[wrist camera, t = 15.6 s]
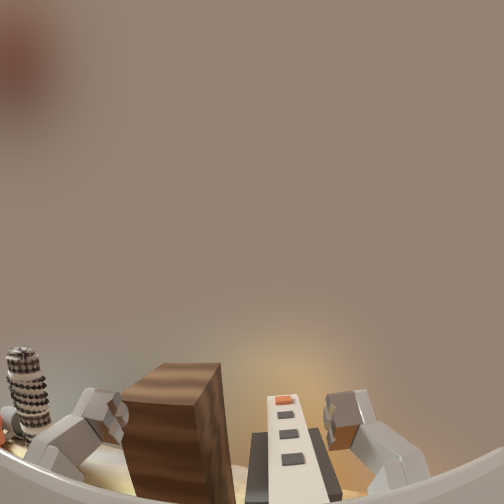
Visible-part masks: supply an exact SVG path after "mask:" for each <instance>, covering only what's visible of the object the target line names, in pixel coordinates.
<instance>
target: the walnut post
mask: <svg viewBox="0 0 504 504" xmlns="http://www.w3.org/2000/svg"><path fill="white" fill-rule="evenodd" d="M120 395H121V397H122V400H121V401H122V402H123V403H125V404H126V406H127V408H128V411H129V419H128V423H127V425H126V426H125V427H123V428H122V429H123V432H124V435H123V438H122V440H121V443H122V447H123V451H124V455H125V459H126V463H127V466H128V470H129V473H130V477H131V480H132V483H133V486H134V490H135V493H136V496H137V497H140V498H145V499H151V500H156V501H162V502H169V503H176V504H236V500H235V492H234V485H233V477H232V469H231V461H230V453H229V445H228V436H227V427H226V417H225V408H224V397H223V386H222V377H221V365H220V363H163V364H162V365H160V366H159V367H158V368H156V369H155V370H153V371H152V372H151V373H149V374H148V375H146V376H145V377H144V378H142V379H141V380H139V381H138V382H136V383H135V384H133V385H132V386H131V387H129V388H128V389H126V390H125V391H123V392H122V393H120Z"/></svg>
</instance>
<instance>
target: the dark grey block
mask: <svg viewBox="0 0 504 504" xmlns="http://www.w3.org/2000/svg"><path fill="white" fill-rule="evenodd" d="M308 432H309V435H310V439H311V442H312V445H313V448H314V452H315V455H316V458H317V462H318V465H319V468H320V472H321V475H322V478H323V481H324V485H325V488H326V491H327V495H328V498H329V501H330V502H337V501H342V494H343V493H342V490H341V488H340V485H339V483H338V480H337V477H336V474H335V472H334V469H333V467H332V464H331V461H330V458H329V456H328V453H327V451H326V448H325V445H324V442H323V440H322V437H321V434H320V432H319V429H318V428H312V429H308ZM245 504H269V471H268V432H262V433H252V440H251V449H250V459H249V468H248V477H247V486H246V495H245Z"/></svg>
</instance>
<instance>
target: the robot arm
mask: <svg viewBox="0 0 504 504" xmlns="http://www.w3.org/2000/svg"><path fill="white" fill-rule="evenodd" d="M121 400H122V397H121V395H120V393H118V392H111V391H106V390H100V389H95V388H89V387H87V388H86V389H85V390H84V392H83V393H82V395H81V398H80V399H79V401H78V403H77V405H76V408H75V409H74V411H73V413H72V415H71V414H69V415H67V416H66V417H64V418H63V419H61V420H60V421H58V422H57V423H55V424H54V425H52V426H51V427H49V428H48V429H46V430H45V431H43V432H42V433H40V434H39V435H37V436H36V437H34V438H33V440H32V442H31V444H30V446H29V448H28V450H27V452H26V454H25V456H24V458H23V459H22V458H20V457H18V456H16V455H14V454H12V453H10V452H8V451H6V450H4V449H2V448H0V504H176V503H169V502H162V501H156V500H151V499H145V498H140V497H135V496H131V495H126V494H122V493H118V492H114V491H110V490H106V489H103V488H99V487H96V486H93V485H89V484H86V483H83V481H84V478H85V476H84V474H83V473H82V472H81V471H80V470H79V469H78V468H77V467H78V466H79V465H80V464H81V463H82V462H83V461H84V460H85V459H86V458H88V457H89V456H90V455H91V454H92V453H93V452H94V451H95V450H96V449H97V448H98V447H99V446H100V445H101V444H102V443H103V442H105V443H111V444H116V445H120V443H121V440H122V438H123V435H124V432H123V429H122V428H123V427H125V426H126V425H127V423H128V419H129V411H128V408H127V406H126V404H125V403H123V402H122V401H121ZM326 404H327V405H326V406H325V407H324V416H323V418H324V426H325V429H326V430H327V431H328V433H327V443H328V448H329V451H335V450H343V449H350V450H351V451H352V452H353V453H354V454H355V455H356V456H357V457H358V458H359V459H360V460H361V461H362V462H363V463H364V464H365V465H366V466H367V467H368V468H369V469H370V470H371V471H372V472H373V473H374V474H375V475H376V477H375V478H374V480H373V481H372V483H371V484H370V485H369V487H368V488H367V490H368V496H364V497H359V498H354V499H349V500H343V501H337V502H330V503H323V504H504V447H500V448H498V449H495V450H494V451H492V452H490V453H488V454H486V455H484V456H482V457H480V458H477V459H475V460H473V461H471V462H469V463H467V464H464V465H462V466H460V467H457V468H455V469H452V470H450V471H447V472H445V473H442V474H439V475H437V476H434V477H431V475H430V472H429V469H428V466H427V463H426V461H425V458H424V455H423V452H422V451H421V450H420V449H418V448H417V447H415V446H414V445H413V444H411V443H410V442H409V441H407V440H406V439H404V438H403V437H402V436H400V435H399V434H398V433H397V432H395V431H394V430H392V429H391V428H390V427H388V426H387V425H386V424H385V423H383V422H382V421H377V418H376V415H375V412H374V409H373V406H372V403H371V401H370V398H369V395H368V392H367V390H366V389H362V390H356V391H347V392H340V393H333V394H328V395H327V396H326Z"/></svg>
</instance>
